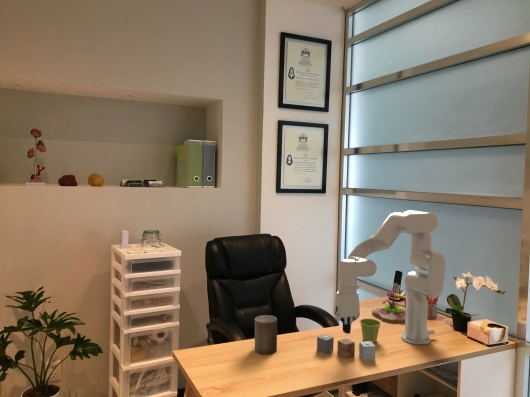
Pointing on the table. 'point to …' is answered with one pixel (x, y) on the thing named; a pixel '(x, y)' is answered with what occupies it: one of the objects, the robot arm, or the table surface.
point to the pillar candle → (265, 334)
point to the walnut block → (346, 348)
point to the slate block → (367, 350)
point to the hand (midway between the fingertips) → (346, 332)
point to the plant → (390, 313)
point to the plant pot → (370, 329)
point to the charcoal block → (325, 343)
